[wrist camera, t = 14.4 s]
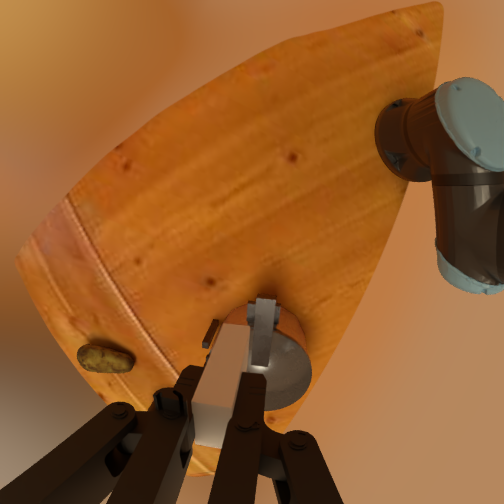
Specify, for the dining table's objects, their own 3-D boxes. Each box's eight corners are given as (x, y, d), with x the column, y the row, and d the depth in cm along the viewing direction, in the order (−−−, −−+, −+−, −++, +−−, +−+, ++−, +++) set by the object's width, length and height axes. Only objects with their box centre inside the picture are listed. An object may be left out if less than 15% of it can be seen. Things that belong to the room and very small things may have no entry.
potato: (131, 377, 60) (116, 397, 52) (88, 349, 59) (70, 365, 52) (139, 355, 58) (124, 375, 50) (93, 325, 57) (74, 341, 50)
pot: (311, 290, 50) (317, 313, 41) (294, 386, 56) (295, 416, 46) (214, 281, 52) (201, 301, 43) (212, 377, 57) (202, 406, 48)
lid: (326, 297, 40) (328, 305, 37) (302, 411, 45) (302, 421, 42) (208, 285, 41) (203, 291, 39) (208, 399, 47) (204, 408, 44)
